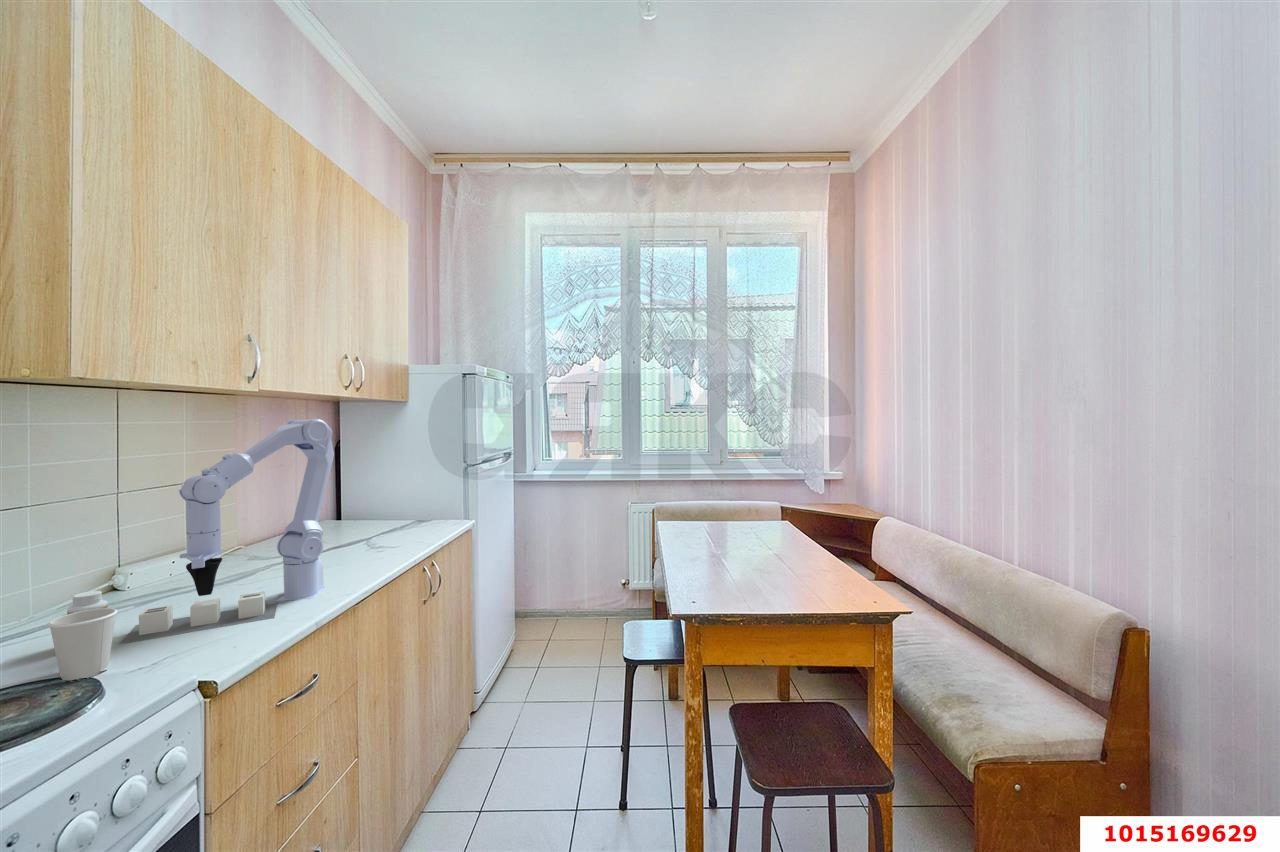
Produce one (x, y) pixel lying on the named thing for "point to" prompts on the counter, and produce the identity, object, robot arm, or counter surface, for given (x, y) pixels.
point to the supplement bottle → (87, 602)
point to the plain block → (205, 612)
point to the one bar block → (251, 605)
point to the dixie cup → (83, 642)
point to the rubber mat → (185, 625)
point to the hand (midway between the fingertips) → (205, 594)
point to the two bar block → (155, 620)
